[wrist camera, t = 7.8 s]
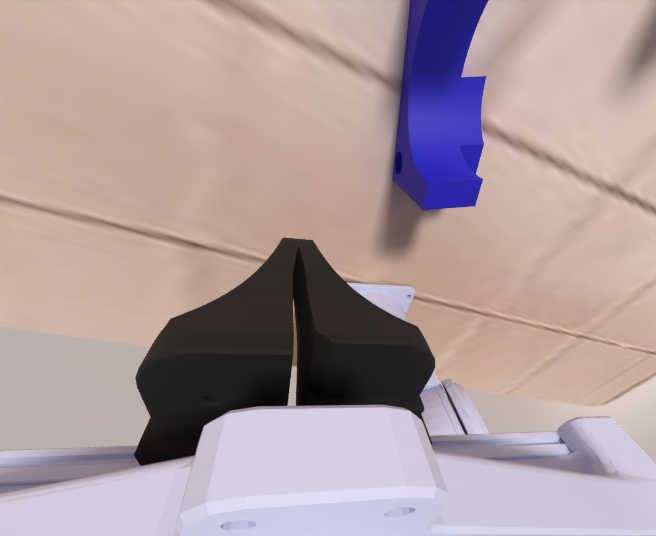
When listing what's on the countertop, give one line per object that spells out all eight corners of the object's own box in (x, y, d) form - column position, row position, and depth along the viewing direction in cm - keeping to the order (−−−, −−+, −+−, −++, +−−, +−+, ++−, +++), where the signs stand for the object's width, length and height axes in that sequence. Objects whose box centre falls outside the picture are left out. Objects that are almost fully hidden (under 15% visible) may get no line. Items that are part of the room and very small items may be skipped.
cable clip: (450, 175, 20) (500, 204, 15) (391, 179, 20) (423, 210, 15) (505, -73, 13) (631, -171, 8) (416, -72, 13) (490, -171, 8)
